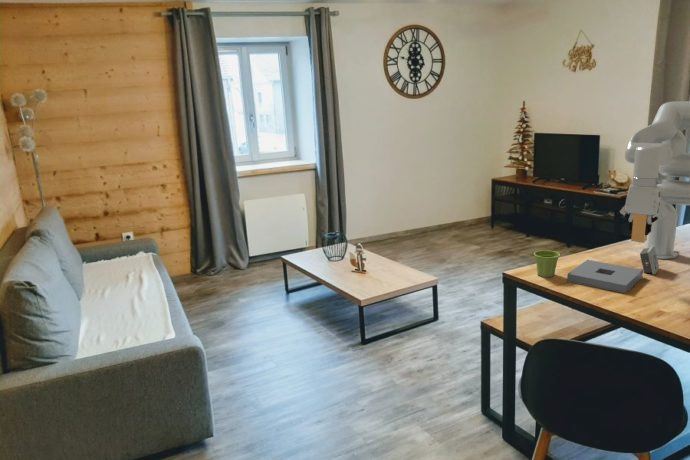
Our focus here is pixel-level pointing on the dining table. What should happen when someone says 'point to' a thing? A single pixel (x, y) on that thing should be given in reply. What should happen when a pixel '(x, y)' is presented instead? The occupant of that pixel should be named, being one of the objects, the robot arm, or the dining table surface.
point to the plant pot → (546, 262)
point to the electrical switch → (649, 260)
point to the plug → (639, 228)
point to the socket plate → (605, 276)
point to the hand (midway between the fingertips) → (639, 232)
